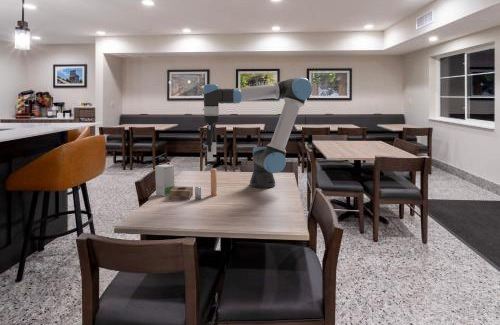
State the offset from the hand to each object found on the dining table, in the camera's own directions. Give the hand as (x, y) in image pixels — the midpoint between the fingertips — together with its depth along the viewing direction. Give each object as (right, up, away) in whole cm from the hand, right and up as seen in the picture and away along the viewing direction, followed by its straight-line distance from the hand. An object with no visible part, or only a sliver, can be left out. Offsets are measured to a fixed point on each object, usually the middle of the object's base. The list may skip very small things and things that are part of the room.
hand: (211, 156), depth 191 cm
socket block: (-15, -21, -2) cm, 26 cm away
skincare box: (-25, -20, +4) cm, 33 cm away
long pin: (+1, -21, +3) cm, 21 cm away
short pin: (-6, -22, -5) cm, 23 cm away
